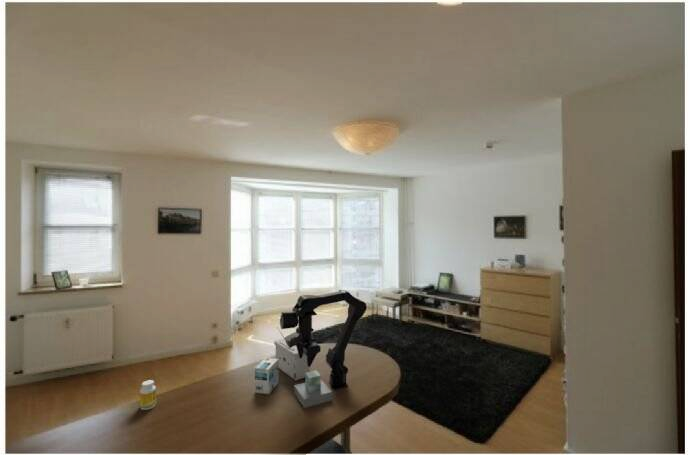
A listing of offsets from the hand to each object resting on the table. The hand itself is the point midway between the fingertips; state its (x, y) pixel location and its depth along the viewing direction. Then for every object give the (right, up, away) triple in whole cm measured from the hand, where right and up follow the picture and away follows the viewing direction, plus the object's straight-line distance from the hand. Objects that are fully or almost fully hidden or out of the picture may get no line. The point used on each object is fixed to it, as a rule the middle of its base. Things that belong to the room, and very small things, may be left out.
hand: (304, 362), depth 138 cm
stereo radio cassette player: (-9, -13, +19) cm, 24 cm away
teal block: (+4, -10, -3) cm, 11 cm away
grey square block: (+4, -14, -3) cm, 14 cm away
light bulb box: (-17, -13, +4) cm, 22 cm away
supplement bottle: (-60, -13, -11) cm, 62 cm away
